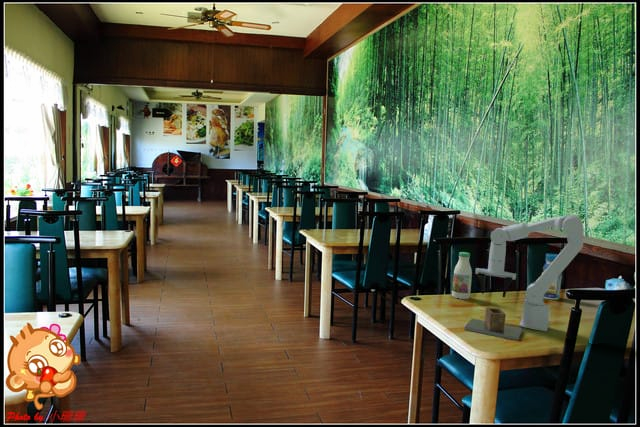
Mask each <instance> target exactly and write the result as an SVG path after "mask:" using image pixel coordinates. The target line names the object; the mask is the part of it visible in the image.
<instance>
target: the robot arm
mask: <svg viewBox="0 0 640 427" xmlns="http://www.w3.org/2000/svg"><path fill="white" fill-rule="evenodd" d="M549 229H555V230H557V231H558V230H559V231H561V229H562V230H563V232H564V233H565V234H566V239H567V240H566V241H567V244H566V245H564V248H563V249H562V250H561V251H560V252H559V254H558V256H557V257H556V258H555V260H554V261H553V262H552V263H551V264H550V266H549V267H548V268H547V269H546V270H545V272H544V273H543V274H542V273H541V275H540V276H539V277H538V278H537V279H536V280H535V281H534V282H532V283H530V284H529V285H527V288H526V291H525V294H524V298H525V299H523V303H522V304H523V305H522V312H521V313H522V316H521V320H520V323H519V325H518V327H519V328H526V329H531V330H537V331H542V332H547V331H548V328H549V326H550V321H551V320H550V316H551V315H550V314H551V305H548V304H546V303H545V301H544V299H545V298H544V294H545V293H546V291H547V290H548V289H549V287H550V286H551V284H552V283H553V282H554V281H555V280H556V278H557V277H558V276H559V275H560V274H562V273H563V271H565V269H566V268H567V267H568V266H569V264H570V263H571V262H572V261H573V260H574V258H575V257H576V256H577V255H578V254H579V252H580V251H582V248H583V247H584V234H585V232H584V231H585V229H584V225H583V223H582V219H581V218H580V216H578V215H576V214H568V215H561V216H560V215H559V216H553V217H550V218H546V219H543V220H542V219H541V220H540V221H537V222H532V223H529V224H527V223H525V222H523V221H522V222H520V221H516V222H515V224H511V225H507V226H506V225H503V226H502V227H497V228H495V229H494V230H492V231H491V234H490V241H491V242H490V247H489V256H488V266H487V268H479V267H476V268H475V274H476V275H477V279H478V282H479V285H480V288H481V289H480V290H481V294H482V295H483V294H485V292H486V291H485V290H486V288H485V287H486V286H485V285H486V279H487V276H492V277H498V278H504V281H503V282H504V283H503V292H502V298H506V294H507V290H508V289H509V287H510V284H511V283H512V281H513V280H514V281H515V280H517V279H516V278H517V273H513V272H509V271H505V264H506V251H507V248H506V247H507V241H508V242H512V241H517V240H520V239H525V238H528V236H529V235H530V234H531V233H535V232H540V231H545V230H549Z"/></svg>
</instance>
